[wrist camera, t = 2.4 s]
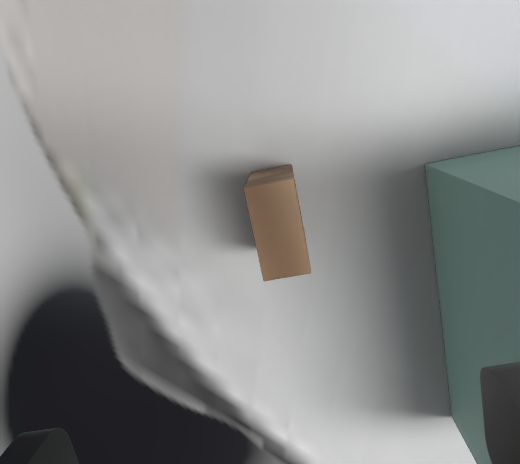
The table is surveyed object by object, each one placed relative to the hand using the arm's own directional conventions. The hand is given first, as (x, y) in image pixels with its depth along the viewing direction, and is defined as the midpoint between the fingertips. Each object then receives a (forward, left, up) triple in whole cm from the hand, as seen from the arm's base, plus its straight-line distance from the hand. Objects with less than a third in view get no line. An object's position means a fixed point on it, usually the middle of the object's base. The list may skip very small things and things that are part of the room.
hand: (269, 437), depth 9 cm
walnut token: (0, 0, -20) cm, 20 cm away
